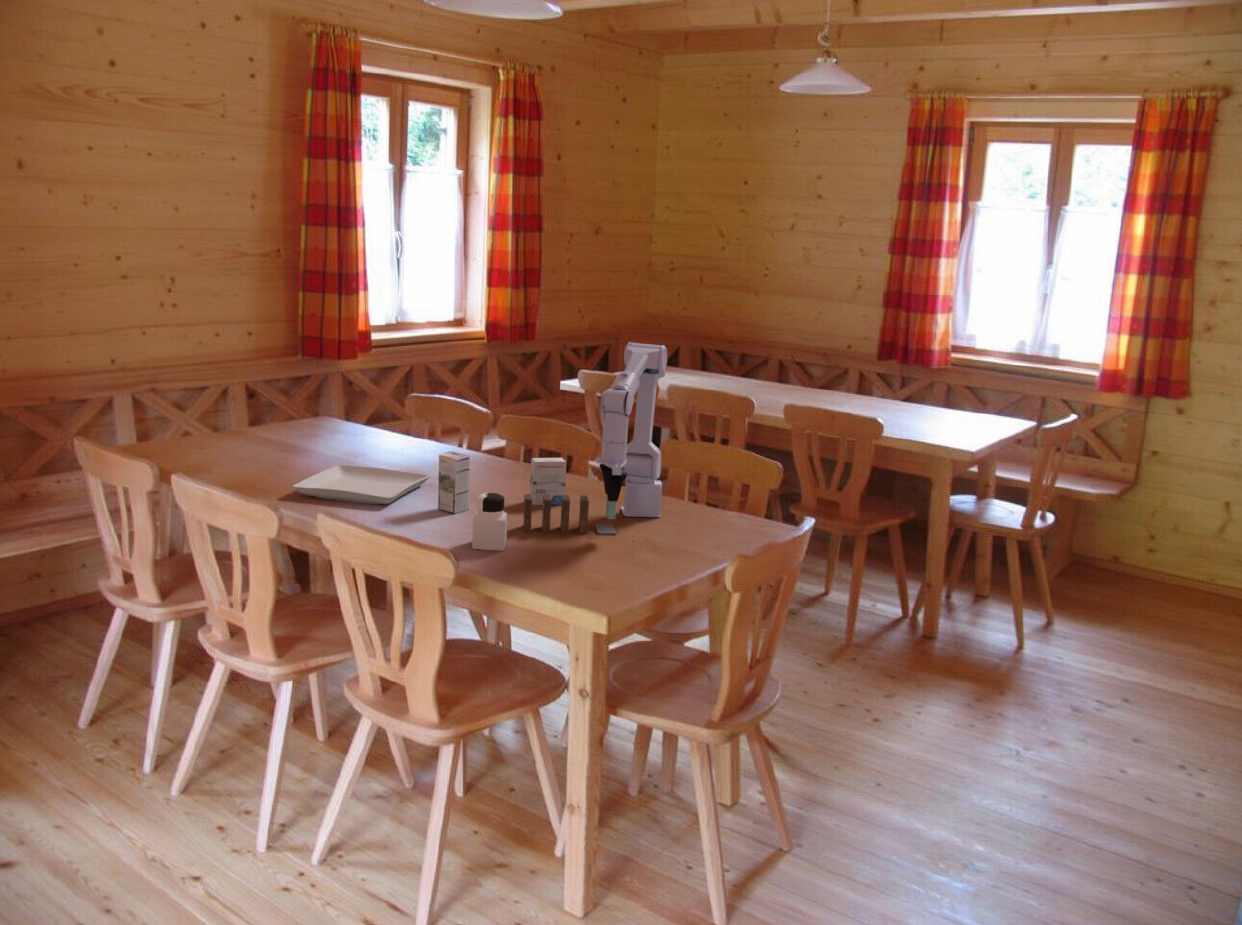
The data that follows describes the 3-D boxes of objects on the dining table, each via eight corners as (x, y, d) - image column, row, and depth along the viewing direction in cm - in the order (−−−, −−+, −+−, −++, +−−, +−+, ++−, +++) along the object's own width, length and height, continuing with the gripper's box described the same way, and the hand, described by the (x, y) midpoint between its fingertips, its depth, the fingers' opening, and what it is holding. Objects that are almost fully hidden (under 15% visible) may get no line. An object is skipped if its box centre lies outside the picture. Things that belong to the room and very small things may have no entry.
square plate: (391, 511, 272) (391, 496, 271) (289, 499, 277) (289, 484, 276) (431, 486, 298) (431, 472, 297) (337, 476, 303) (337, 462, 302)
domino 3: (567, 526, 267) (568, 495, 265) (568, 532, 262) (570, 500, 260) (560, 526, 266) (561, 494, 265) (561, 532, 262) (563, 500, 260)
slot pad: (612, 526, 269) (613, 524, 269) (616, 534, 262) (616, 533, 262) (595, 526, 269) (595, 524, 268) (597, 534, 262) (598, 532, 262)
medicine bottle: (506, 541, 252) (508, 491, 249) (504, 551, 245) (505, 499, 242) (475, 540, 252) (476, 490, 249) (472, 549, 245) (473, 498, 242)
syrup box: (469, 509, 276) (471, 453, 273) (454, 514, 271) (455, 457, 268) (452, 505, 279) (453, 450, 276) (436, 510, 274) (438, 453, 271)
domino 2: (548, 526, 266) (550, 494, 264) (549, 532, 261) (551, 500, 259) (541, 526, 266) (543, 494, 264) (542, 532, 261) (544, 499, 259)
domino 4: (585, 527, 267) (587, 495, 265) (587, 533, 262) (588, 501, 261) (578, 527, 267) (580, 495, 265) (580, 533, 262) (582, 500, 260)
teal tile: (612, 513, 259) (614, 480, 257) (615, 519, 254) (617, 485, 253) (605, 513, 259) (607, 480, 257) (608, 518, 254) (610, 485, 252)
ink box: (560, 500, 290) (562, 457, 288) (564, 505, 286) (567, 461, 283) (528, 500, 288) (530, 457, 286) (532, 505, 283) (534, 461, 281)
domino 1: (530, 525, 266) (531, 494, 264) (530, 531, 261) (532, 499, 259) (523, 525, 265) (524, 493, 264) (524, 531, 260) (525, 499, 259)
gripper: (594, 433, 259) (591, 489, 262) (600, 447, 245) (597, 505, 248) (623, 434, 260) (620, 489, 263) (631, 448, 246) (628, 506, 249)
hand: (611, 497), depth 256 cm, fingers closed on teal tile, 5 cm apart
